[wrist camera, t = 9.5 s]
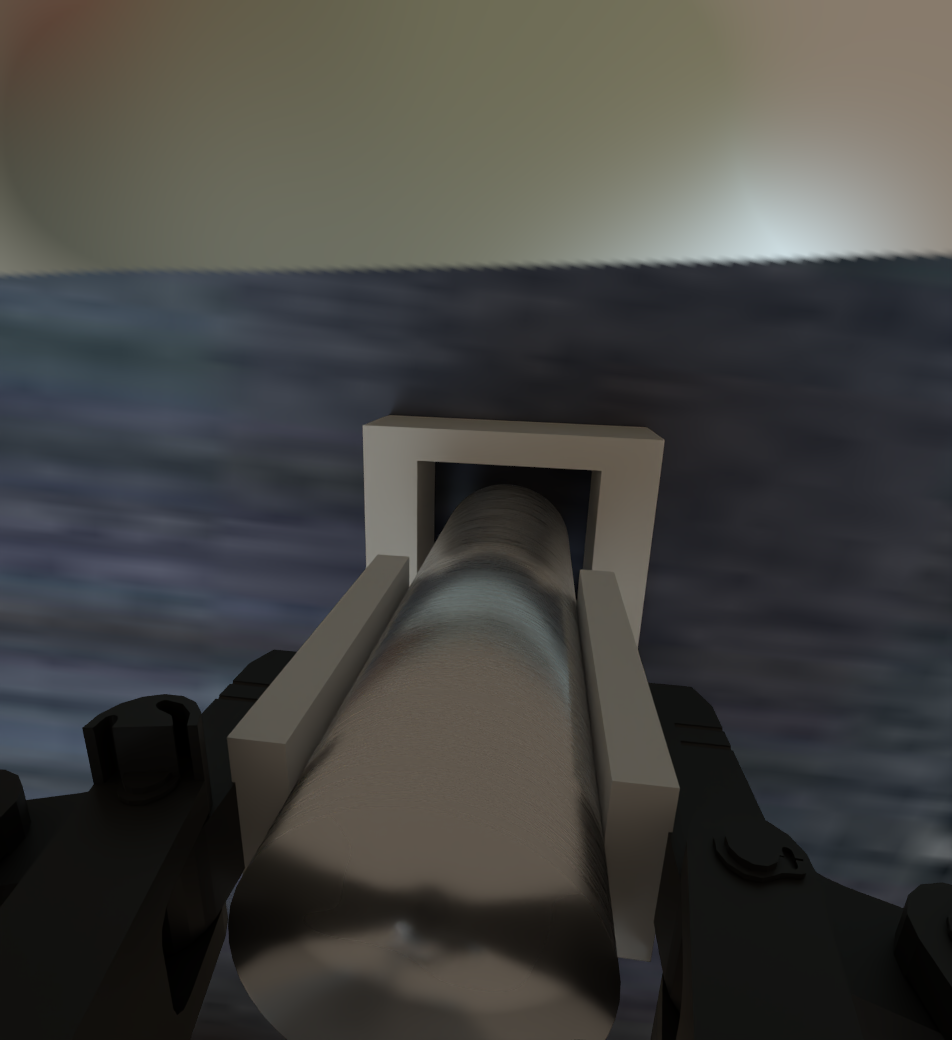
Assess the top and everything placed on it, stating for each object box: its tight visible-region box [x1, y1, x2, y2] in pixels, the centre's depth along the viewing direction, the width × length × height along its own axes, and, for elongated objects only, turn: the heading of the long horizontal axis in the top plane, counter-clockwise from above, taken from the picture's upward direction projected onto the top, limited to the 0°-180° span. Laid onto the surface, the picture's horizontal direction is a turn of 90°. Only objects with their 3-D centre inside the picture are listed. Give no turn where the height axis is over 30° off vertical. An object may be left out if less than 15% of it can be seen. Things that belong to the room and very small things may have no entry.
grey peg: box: [228, 484, 621, 1040], centre depth 12 cm, size 4×4×13 cm
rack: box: [363, 415, 665, 649], centre depth 20 cm, size 15×9×3 cm, turn 178°
